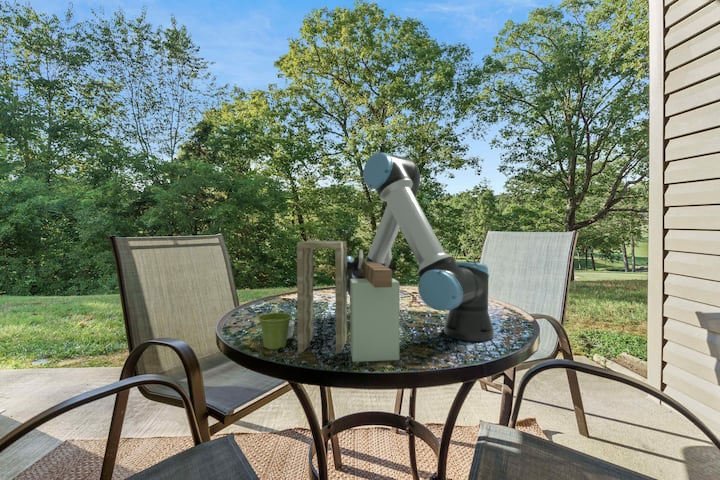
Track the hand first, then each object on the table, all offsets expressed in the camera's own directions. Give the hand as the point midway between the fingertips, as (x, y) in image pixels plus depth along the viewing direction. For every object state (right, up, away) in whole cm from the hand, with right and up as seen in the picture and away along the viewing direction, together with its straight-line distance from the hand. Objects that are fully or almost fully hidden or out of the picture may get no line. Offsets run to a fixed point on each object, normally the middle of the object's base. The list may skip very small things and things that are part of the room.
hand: (376, 254), depth 98 cm
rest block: (-1, -27, -4) cm, 27 cm away
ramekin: (-30, -27, +13) cm, 42 cm away
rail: (0, -7, -4) cm, 8 cm away
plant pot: (-29, -27, +3) cm, 39 cm away
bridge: (-15, -27, +5) cm, 31 cm away
